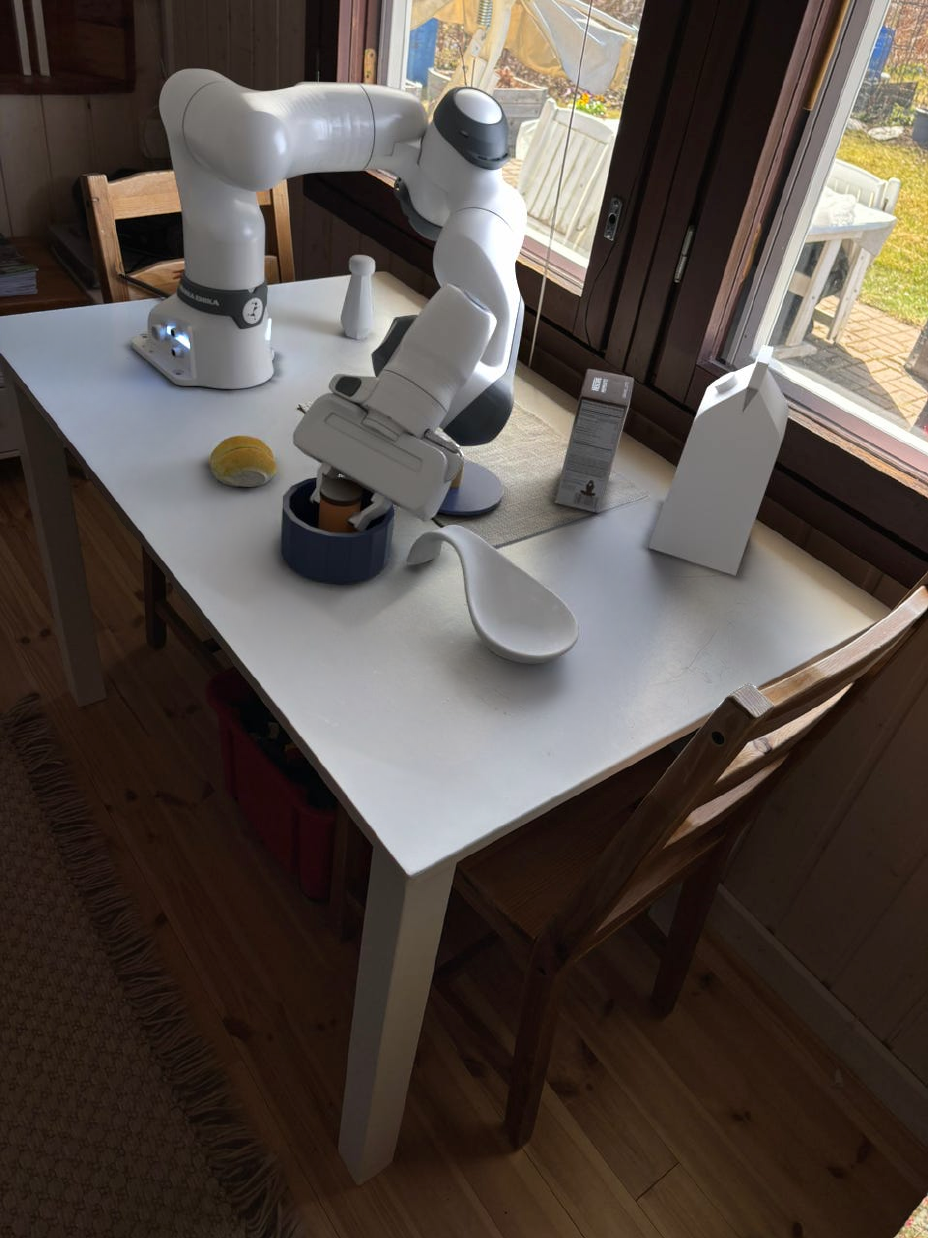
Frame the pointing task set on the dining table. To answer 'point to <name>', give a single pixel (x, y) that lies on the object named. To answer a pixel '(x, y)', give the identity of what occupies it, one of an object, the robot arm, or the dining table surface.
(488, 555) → the spoon rest
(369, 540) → the tin
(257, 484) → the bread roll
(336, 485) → the cylinder
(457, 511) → the tin lid
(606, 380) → the coffee box
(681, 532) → the milk
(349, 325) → the salt shaker
